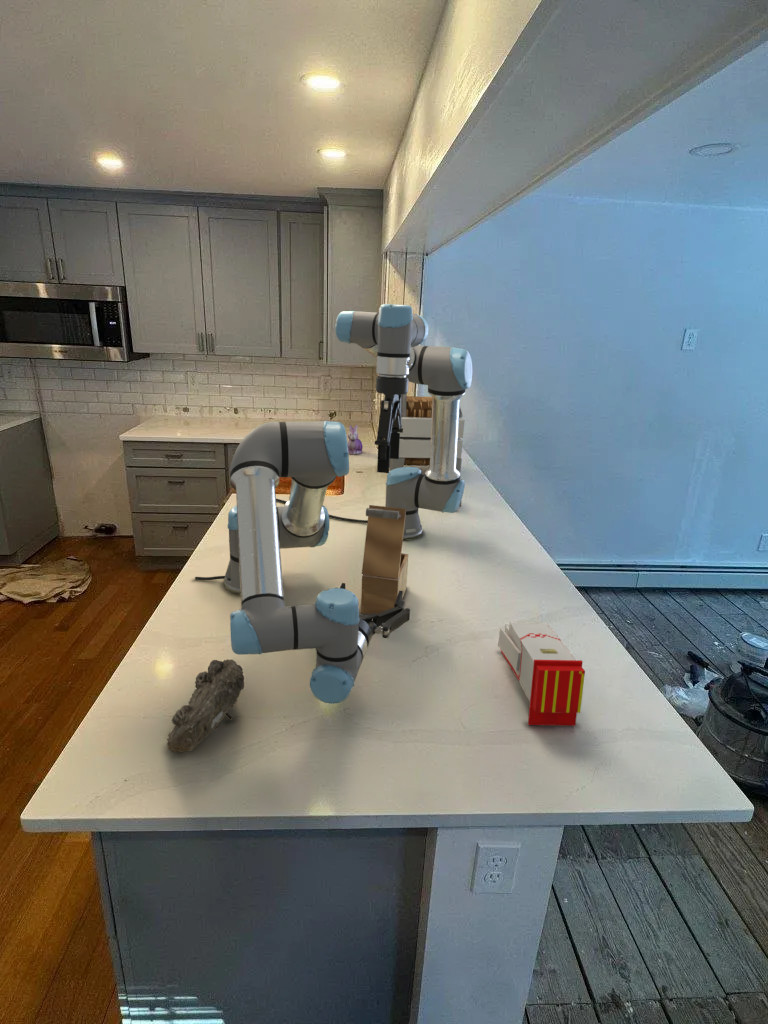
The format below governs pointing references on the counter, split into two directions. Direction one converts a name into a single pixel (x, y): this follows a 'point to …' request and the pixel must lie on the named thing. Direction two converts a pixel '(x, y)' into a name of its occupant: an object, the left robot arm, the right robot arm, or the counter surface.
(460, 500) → the right robot arm
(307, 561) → the counter surface
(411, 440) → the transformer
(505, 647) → the toy
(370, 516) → the lid
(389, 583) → the chest
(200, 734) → the fossil
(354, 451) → the figurine
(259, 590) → the left robot arm
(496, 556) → the counter surface
